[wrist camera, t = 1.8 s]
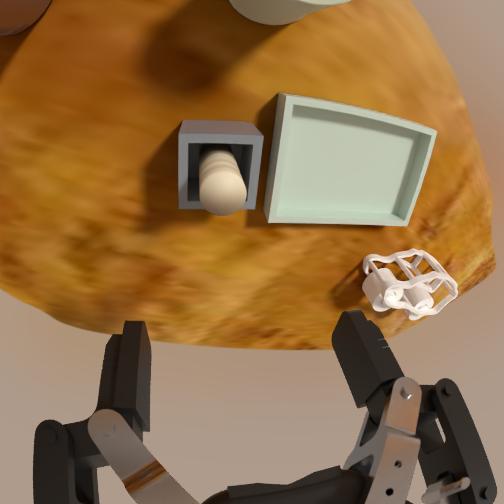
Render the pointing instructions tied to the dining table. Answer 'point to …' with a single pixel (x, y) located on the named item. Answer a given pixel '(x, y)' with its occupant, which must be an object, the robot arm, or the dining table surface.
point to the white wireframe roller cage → (406, 285)
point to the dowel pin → (220, 180)
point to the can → (280, 9)
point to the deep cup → (217, 131)
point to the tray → (343, 164)
